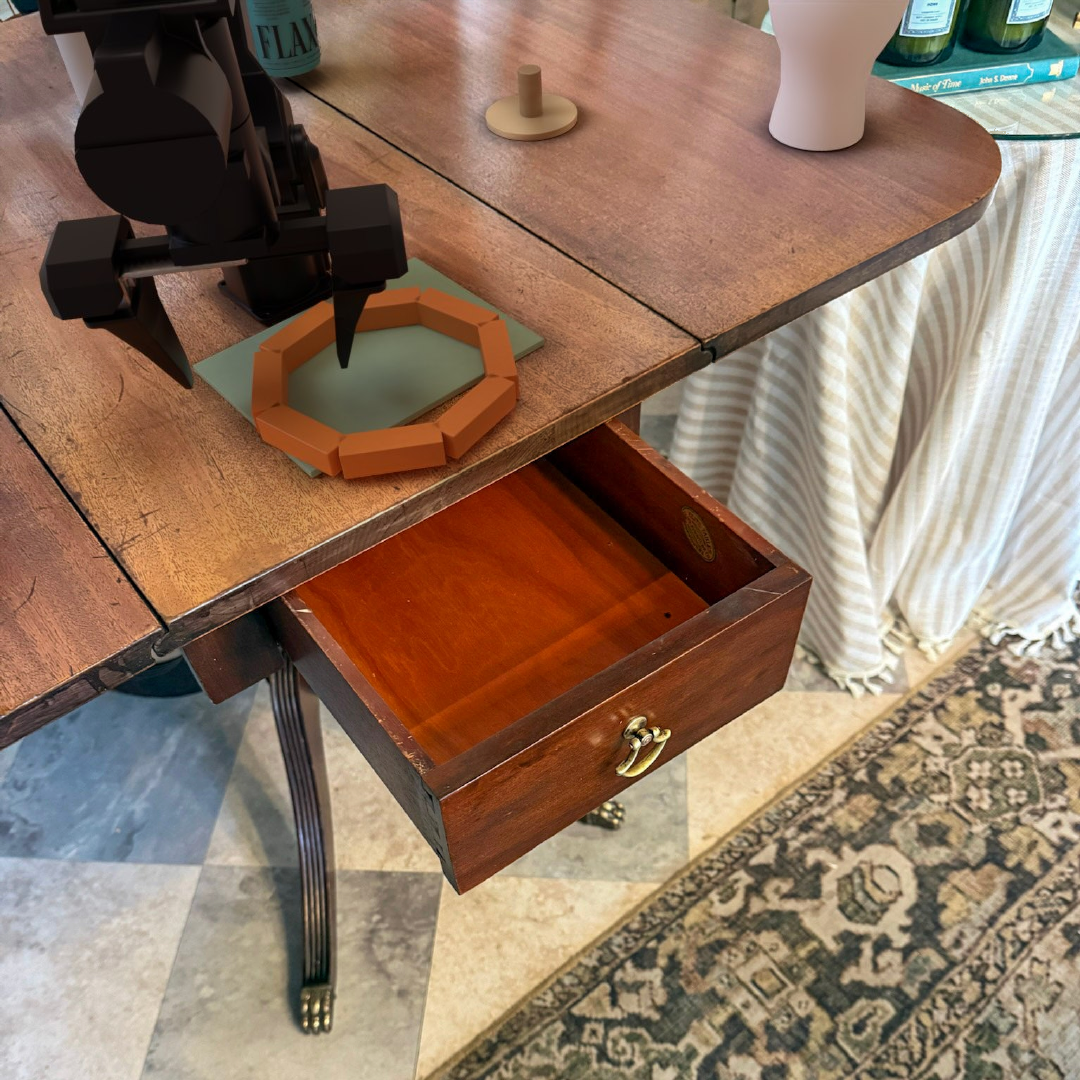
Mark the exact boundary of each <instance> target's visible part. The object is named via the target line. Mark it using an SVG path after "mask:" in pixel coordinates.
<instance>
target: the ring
mask: <svg viewBox="0 0 1080 1080" xmlns="http://www.w3.org/2000/svg"><path fill="white" fill-rule="evenodd" d="M332 300H333V299H332ZM315 305H316V306H315ZM315 305H313V306H314V307H313V306H312V307H313V308H311V307H310V308H311V309H310V310H308V311H307V312H306V313H304V314H303V315H301V316H300V317H298V318H297V319H296V320H294V321H293V322H291V323H290V324H288V325H287V326H286V327H284V328H283V329H281V330H280V331H278V332H277V333H276V334H274V335H273V336H271V337H270V338H268V339H267V340H265V341H264V342H263V343H261V344H260V345H259V349H260V352H255V353H254V359H253V379H252V400H251V413H252V416H253V419H254V422H255V425H256V427H255V428H256V432H257V434H260V436H261V439H262V441H264V442H265V443H267V444H269V445H271V446H273V447H275V448H276V449H279V450H280V451H282V452H283V451H284V452H286V453H288V454H290V455H292V456H294V457H296V458H297V459H299V460H301V461H303V462H305V463H307V464H309V465H311V466H313V467H315V468H317V469H319V470H320V471H322V472H323V473H324V474H326V475H328V476H330V477H332V478H334V477H336V476H337V475H338V474H339V473H340V472H341V471H342V474H343V477H344V479H345V480H350V479H357V478H363V477H370V476H377V475H383V474H385V475H386V474H391V473H398V472H405V471H412V470H419V469H426V468H433V467H440V466H441V467H442V466H446V465H447V459H446V456H448V457H450V458H452V459H455V460H459V459H460V458H461V457H463V455H465V453H466V452H467V451H468V450H470V449H471V448H472V447H473V446H474V445H475V444H476V443H477V442H478V441H479V440H480V439H481V438H483V437H484V436H485V435H486V434H487V433H488V432H489V431H490V430H491V429H493V428H494V427H495V426H496V425H497V424H498V423H499V422H500V421H502V419H503V418H505V416H507V415H508V414H509V413H510V412H511V411H512V410H513V409H515V408H516V407H517V399H520V397H521V396H520V384H519V383H520V382H519V373H518V369H517V364H516V361H515V360H514V356H513V352H512V348H511V344H510V340H509V335H508V331H507V327H506V323H505V320H504V319H503V320H499V314H497V313H495V312H492V311H490V310H487V309H484V308H482V307H479V306H477V305H474V304H472V303H469V302H467V301H464V300H461V299H459V298H456V297H454V296H451V295H449V294H446V293H444V292H441V291H438V290H436V289H433V288H431V287H429V288H428V289H426V290H425V291H424V292H422V293H421V291H420V287H419V286H417V287H409V288H402V289H394V290H386V291H383V292H381V293H377V294H371V295H370V296H369V297H368V299H367V302H366V304H365V307H364V309H363V311H362V314H361V316H360V318H359V321H358V323H357V326H356V330H355V332H362V331H370V330H377V329H385V328H393V327H400V326H408V325H416V324H421V325H423V326H426V327H428V328H430V329H433V330H435V331H438V332H440V333H442V334H445V335H447V336H450V337H452V338H455V339H457V340H459V341H462V342H464V343H467V344H469V345H471V346H474V347H476V348H479V349H480V353H481V358H482V363H483V368H484V373H485V377H486V378H484V379H483V380H482V381H480V382H479V383H477V384H475V385H474V387H473V388H471V390H469V391H468V392H467V393H466V394H465V395H464V396H462V397H461V398H460V399H458V401H457V402H455V403H454V404H453V405H452V406H451V407H450V408H449V409H447V410H446V411H445V412H444V413H442V414H441V416H439V417H438V418H437V419H436V420H435V421H431V422H426V423H418V424H410V425H404V426H402V427H395V428H388V429H381V430H374V431H366V432H359V433H352V434H345V435H344V434H342V433H340V432H338V431H336V430H334V429H332V428H330V427H328V426H326V425H324V424H322V423H320V422H318V421H316V420H314V419H312V418H310V417H308V416H306V415H304V414H302V413H300V412H298V411H296V410H293V409H291V408H289V407H288V396H289V374H290V373H292V372H293V371H294V370H296V369H297V368H298V367H300V366H301V365H302V364H304V363H305V362H306V361H308V360H309V359H311V358H312V357H313V356H315V355H316V354H317V353H319V352H320V351H321V350H323V349H324V348H325V347H327V346H328V345H330V344H331V343H332V342H334V341H335V340H336V336H335V321H334V307H333V305H332V304H329V303H327V302H325V300H321V301H320V302H319V303H317V304H315ZM284 452H283V453H284Z"/></svg>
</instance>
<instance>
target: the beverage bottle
mask: <svg viewBox="0 0 1080 1080" xmlns="http://www.w3.org/2000/svg"><path fill="white" fill-rule="evenodd" d="M246 3H247V9H248V14H249V20H250V25H251V31H252V36H253V42H254V47H255V52H256V57H257V60H258V61H259V63H260V64H261V65H262V67H263V68H264V69H265V71H266V72H267V73H268V74H269V76H270V77H271V78H272V77H274V78H288V77H296V76H299V75H303V74H306V73H308V72H311V71H313V70H314V69H316V68H317V67H318V66H319V65H320V63H321V57H322V52H323V51H322V46H321V45H320V40H319V36H320V35H319V33H318V30H319V29H318V25H317V20H316V16H315V15H316V13H315V11H314V10H315V9H314V7H313V3H312V2H311V0H246Z"/></svg>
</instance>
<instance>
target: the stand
mask: <svg viewBox="0 0 1080 1080" xmlns="http://www.w3.org/2000/svg"><path fill="white" fill-rule="evenodd" d="M517 87H518V94H514V95H510V96H506V97H504V98H501V99H499V100H497V101H496V102H494V103H492V104H491V105H490V106H488V109H487V110H486V112H485V117H484V118H485V124H486V127H487V129H488V130H489V131H490V132H491V133H493V134H494V135H497V136H498V137H501V138H503V139H509V140H512V141H513V140H514V141H522V142H523V141H524V142H526V141H527V142H530V141H531V142H532V141H533V142H534V141H542V140H547V139H552V138H555V137H559V136H561V135H563V134H565V133H567V132H569V131H570V130H572V128H574V126H575V125H576V123H577V122H578V108H577V106H576V105H575V104H574V102H572V101H571V100H570V99H568V98H566V97H563V96H560V95H557V94H552V93H545V92H544V93H543V84H542V68H541V66H540V65H537V64H524V65H521V66H519V67H518V68H517Z"/></svg>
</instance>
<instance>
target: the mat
mask: <svg viewBox="0 0 1080 1080" xmlns="http://www.w3.org/2000/svg"><path fill="white" fill-rule="evenodd" d="M407 263H408V270H409V272H407V273H406V274H405V275H403V276H402V277H400V278H399V279H391V280H386V282H387V287H386V289H385V290H384V291H386V290H394V289H402V288H409V287H417V286H419V287H420V291H421V293H422V292H424V291H425V290H426V289H428V288H429V287H431V288H433V289H436V290H438V291H441V292H444V293H446V294H449V295H451V296H454V297H456V298H459V299H461V300H464V301H467V302H469V303H472V304H474V305H477V306H479V307H482V308H484V309H487V310H490V311H492V312H495V313H497V314H499V320H503V319H504V320H505V323H506V327H507V331H508V335H509V340H510V344H511V348H512V352H513V356H514V360H515V362H517V361H519V360H521V359H522V358H524V357H525V356H528V355H529V354H531V353H532V352H534V351H536V350H537V349H539V348H542V347H543V346H545V339H544V337H542V336H540V335H539V334H537V333H536V332H534V331H532V330H531V329H529V328H528V327H526V326H524V325H523V324H521V323H520V322H518V321H517V320H515V319H513V318H512V317H510V316H509V315H507V314H506V313H504V312H502V311H501V310H499V309H498V308H497V307H494V306H493V305H492V304H491V303H489V302H487V301H485V300H484V299H482V298H480V297H479V296H477V295H476V294H474V293H473V292H471V291H469V290H468V289H467V288H464V287H463V286H462V285H460V284H458V283H457V282H456V281H454V280H452V279H451V278H449V277H447V276H446V275H445V274H442V273H441V272H440V271H438V270H436V269H435V268H433V267H432V266H430V265H429V264H427V263H426V262H424V261H422V260H421V259H419V258H417V257H416V256H413V257H411V258H409V259H407ZM332 299H333V296H331V297H329V298H327V299H325V300H324V301H325V302H327V303H329V304H332V305H333V300H332ZM316 305H317V304H315V305H313V306H311V307H309V308H307V309H304V310H303V311H301V312H299V313H297V314H295V315H292V316H291V317H289V318H286V319H284V320H282V321H281V322H278V323H276V324H274V325H272V326H270V327H268V328H266V329H264V330H262V331H259V332H258V333H256V334H254V335H251V336H250V337H247V338H245V339H244V340H243V339H242V340H241V341H240V342H237V343H234V344H233V345H231V346H229V347H227V348H225V349H223V350H221V351H218V352H217V353H215V354H213V355H211V356H209V357H206V358H204V359H202V360H201V361H198V362H196V363H195V364H193V365H192V369H193V371H194V373H196V374H197V375H198V376H199V377H200V378H201V379H202V380H203V381H205V382H206V383H207V384H208V385H209V386H210V387H211V388H212V389H213V390H215V391H216V392H217V394H219V395H220V396H221V397H222V398H223V399H225V401H227V402H228V403H229V404H230V405H231V406H232V407H233V408H234V409H235V410H236V411H238V412H239V413H240V414H241V416H243V417H244V418H245V419H246V420H247V421H249V422H250V423H251V424H252V425H253V426H254V427H255V428H256V425H255V422H254V419H253V416H252V413H251V400H252V379H253V359H254V353H255V352H260V349H259V345H260V344H261V343H263V342H264V341H265V340H267V339H268V338H270V337H271V336H273V335H274V334H276V333H277V332H278V331H280V330H281V329H283V328H284V327H286V326H287V325H288V324H290V323H291V322H293V321H294V320H296V319H297V318H298V317H300V316H301V315H303V314H304V313H306V312H307V311H308V310H310V309H311V308H313V307H314V306H316ZM484 378H486V377H485V373H484V368H483V363H482V358H481V353H480V349H479V348H476V347H474V346H471V345H469V344H467V343H464V342H462V341H459V340H457V339H455V338H452V337H450V336H447V335H445V334H442V333H440V332H438V331H435V330H433V329H430V328H428V327H426V326H423V325H421V324H416V325H408V326H400V327H393V328H385V329H377V330H370V331H362V332H355V335H354V340H353V345H352V349H351V354H350V359H349V364H348V368H347V369H341V367H340V364H339V360H338V357H337V350H336V340H335V341H334V342H332V343H331V344H330V345H328V346H327V347H325V348H324V349H323V350H321V351H320V352H319V353H317V354H316V355H315V356H313V357H312V358H311V359H309V360H308V361H306V362H305V363H304V364H302V365H301V366H300V367H298V368H297V369H296V370H294V371H293V372H292V373H290V374H289V396H288V407H289V408H291V409H293V410H296V411H298V412H300V413H302V414H304V415H306V416H308V417H310V418H312V419H314V420H316V421H318V422H320V423H322V424H324V425H326V426H328V427H330V428H332V429H334V430H336V431H338V432H340V433H342V434H344V435H345V434H352V433H359V432H366V431H374V430H381V429H388V428H395V427H402V426H407V425H408V424H409V423H412V422H413V421H415V420H416V419H418V418H420V417H422V416H423V415H425V414H427V413H428V412H430V411H432V410H434V409H435V408H437V407H439V406H441V405H442V404H444V403H447V401H449V400H451V399H452V398H455V397H456V396H458V395H460V394H462V393H463V392H465V391H467V390H469V389H470V388H472V387H473V386H476V385H478V384H479V383H480V382H481V381H482V380H483V379H484ZM282 452H283V453H284V454H285V455H286V456H287V457H288V458H289V459H291V461H293V462H294V463H295V464H296V466H298V467H299V468H300V469H301V470H303V472H305V473H306V474H307V475H308V476H309V477H310V478H311V479H314V478H316V477H318V476H319V475H321V474H322V473H324V472H322V471H320V470H319V469H317V468H315V467H313V466H311V465H309V464H307V463H305V462H303V461H301V460H299V459H297V458H296V457H294V456H292V455H290V454H288V453H286V452H284V451H282Z"/></svg>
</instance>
